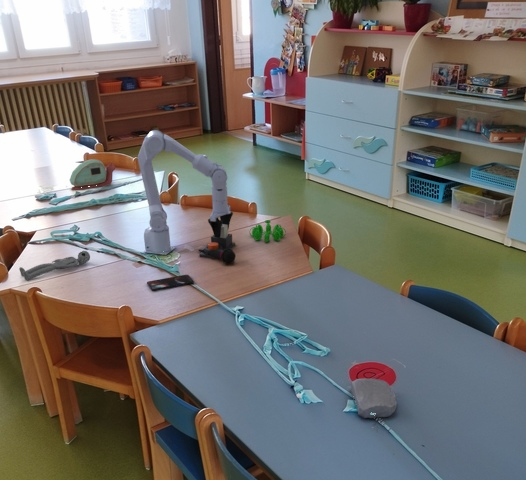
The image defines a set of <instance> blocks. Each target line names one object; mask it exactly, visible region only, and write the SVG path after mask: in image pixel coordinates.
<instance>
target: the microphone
mask: <svg viewBox="0 0 526 480" xmlns="http://www.w3.org/2000/svg"><path fill="white" fill-rule="evenodd" d="M198 252H200V253H202V252H203V253H205V251H204V248H202V249H198ZM208 255H210V256H212V257H215V258H218V259H219V260H221V261H222V263H223V264H226V265H229V264H232V263H234V261H235V260H236V253H235V251H233V249H225V250H224V251H222V250H214V249H211V251H209V252H208ZM218 259H217V260H218Z"/></svg>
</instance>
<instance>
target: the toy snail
mask: <svg viewBox="0 0 526 480" xmlns="http://www.w3.org/2000/svg"><path fill="white" fill-rule="evenodd" d="M115 170H116V166H115V165H114V164H113V162H110V163H109V164H108V165H107V166H105V164H104V163H103V161H101V160H99V159H94V158H92V159H87V160H85V161H83V162H82V163H80V164H78V165H77V166H76V168H75V169H74V170H72V172H71V174H70V178H69V183H70V185H72V187H71V191H80V190H88V189H95V188H102V187H107V186H110V185H112V183H113V172H114V171H115ZM96 185H97V186H96ZM88 186H90V187H88ZM81 187H82V188H81Z"/></svg>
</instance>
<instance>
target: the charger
mask: <svg viewBox="0 0 526 480" xmlns="http://www.w3.org/2000/svg"><path fill="white" fill-rule="evenodd" d="M228 234H229V229H228V225H226V224H222V226H221V236H220V238H226V237H227V236H228Z"/></svg>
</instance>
